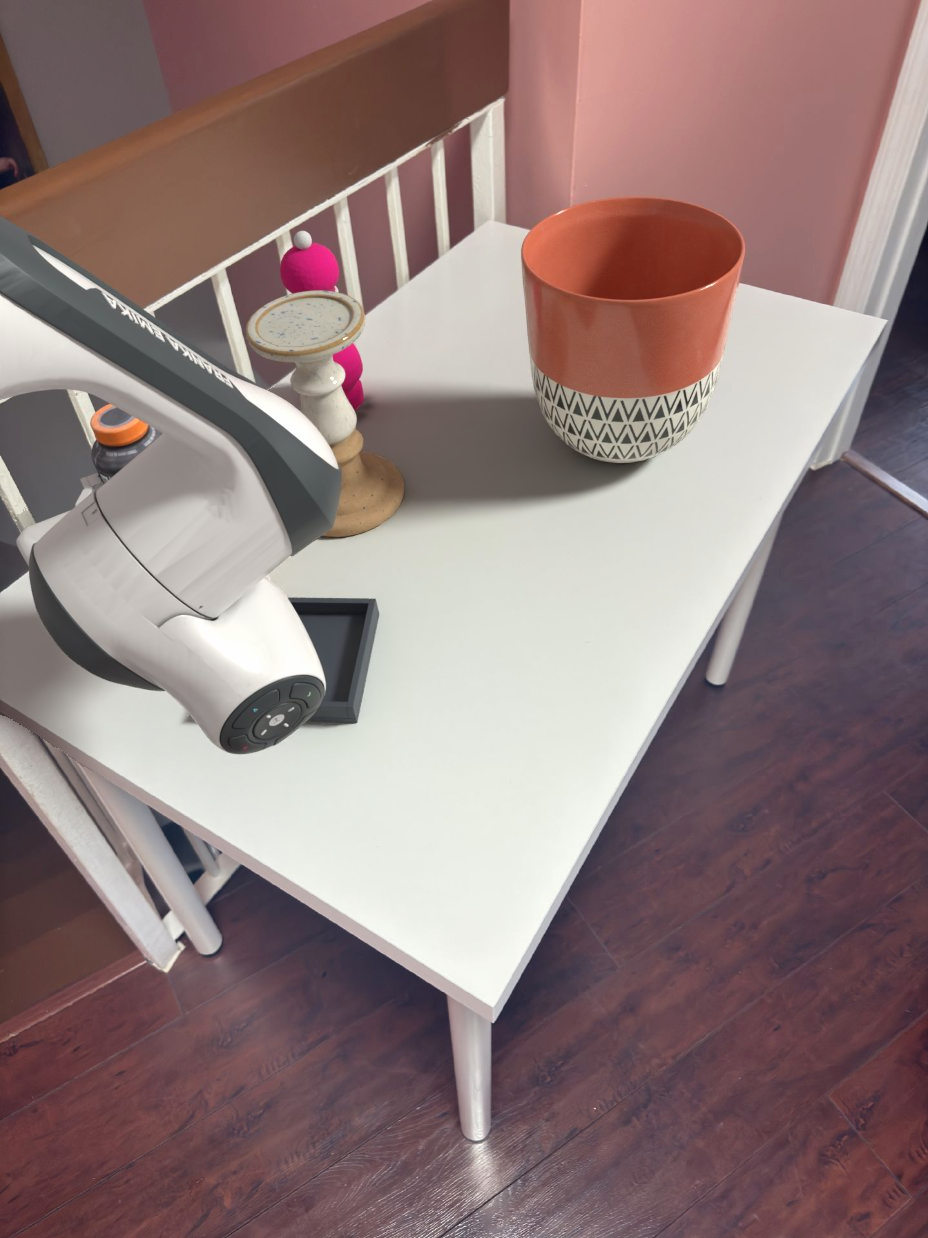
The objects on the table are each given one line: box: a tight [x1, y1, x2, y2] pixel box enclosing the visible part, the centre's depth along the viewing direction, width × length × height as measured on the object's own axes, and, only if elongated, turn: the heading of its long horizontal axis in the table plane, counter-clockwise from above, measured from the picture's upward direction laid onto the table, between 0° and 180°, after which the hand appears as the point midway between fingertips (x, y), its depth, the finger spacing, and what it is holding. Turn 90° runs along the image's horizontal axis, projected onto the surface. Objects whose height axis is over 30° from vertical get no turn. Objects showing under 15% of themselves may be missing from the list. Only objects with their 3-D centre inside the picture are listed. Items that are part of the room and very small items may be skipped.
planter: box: [520, 196, 746, 464], centre depth 88 cm, size 20×20×21 cm
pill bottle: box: [89, 403, 163, 484], centre depth 72 cm, size 6×6×11 cm
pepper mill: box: [279, 230, 365, 412], centre depth 98 cm, size 7×7×20 cm
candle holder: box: [245, 290, 405, 538], centre depth 86 cm, size 12×12×20 cm
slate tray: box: [287, 596, 380, 724], centre depth 78 cm, size 12×12×2 cm
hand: (136, 465), depth 72 cm, fingers closed on pill bottle, 6 cm apart
